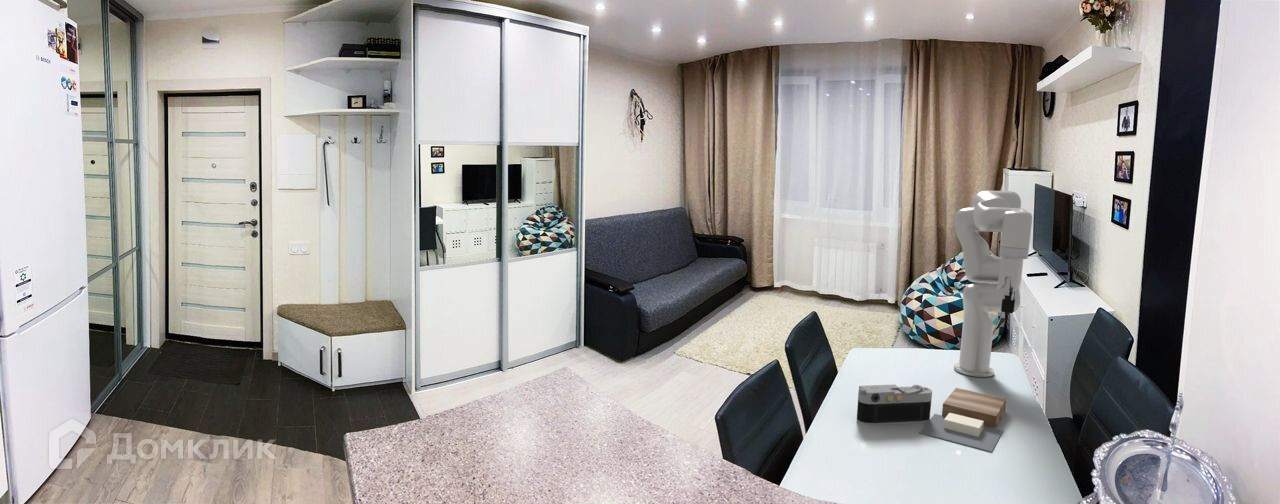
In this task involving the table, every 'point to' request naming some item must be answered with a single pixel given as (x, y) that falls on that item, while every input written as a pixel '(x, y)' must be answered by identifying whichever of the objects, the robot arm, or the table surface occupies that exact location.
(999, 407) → the brown flat block
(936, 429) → the mat
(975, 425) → the cream rectangular block
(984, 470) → the table surface
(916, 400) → the camera
